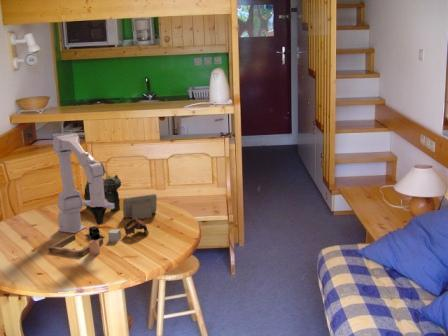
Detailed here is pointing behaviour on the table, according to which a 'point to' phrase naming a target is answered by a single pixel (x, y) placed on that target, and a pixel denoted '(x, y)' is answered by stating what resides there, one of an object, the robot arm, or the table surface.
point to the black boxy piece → (94, 233)
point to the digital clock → (140, 206)
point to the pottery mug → (136, 226)
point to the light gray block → (114, 235)
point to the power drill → (108, 191)
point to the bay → (57, 249)
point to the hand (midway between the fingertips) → (100, 223)
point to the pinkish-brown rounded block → (94, 247)
